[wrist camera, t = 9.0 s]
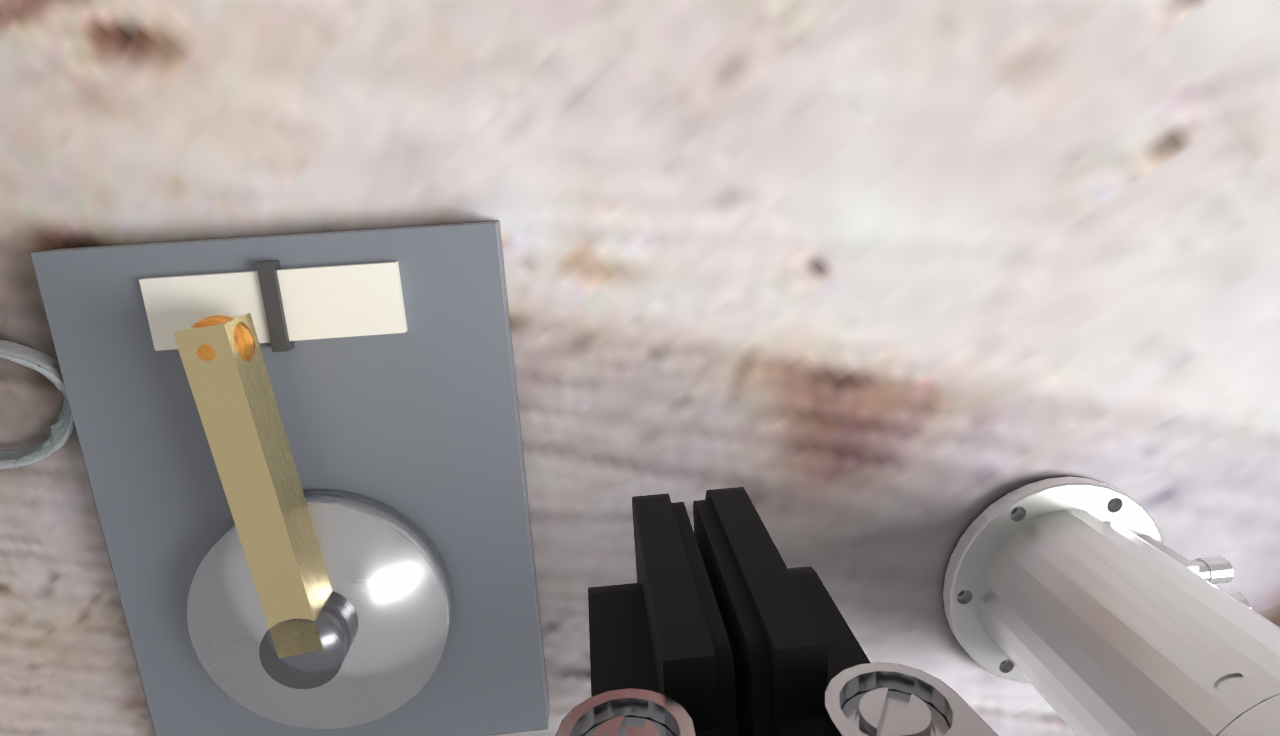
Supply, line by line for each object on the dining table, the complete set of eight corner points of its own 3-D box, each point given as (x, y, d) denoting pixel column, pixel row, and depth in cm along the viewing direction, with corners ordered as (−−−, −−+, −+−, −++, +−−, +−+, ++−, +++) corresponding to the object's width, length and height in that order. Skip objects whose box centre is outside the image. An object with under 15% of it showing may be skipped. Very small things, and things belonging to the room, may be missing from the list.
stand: (499, 220, 36) (493, 224, 33) (549, 704, 43) (547, 739, 40) (60, 248, 35) (17, 254, 32) (183, 742, 42) (156, 782, 39)
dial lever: (475, 680, 40) (464, 740, 35) (245, 724, 39) (205, 790, 35) (376, 280, 34) (348, 295, 30) (106, 325, 34) (39, 347, 29)
